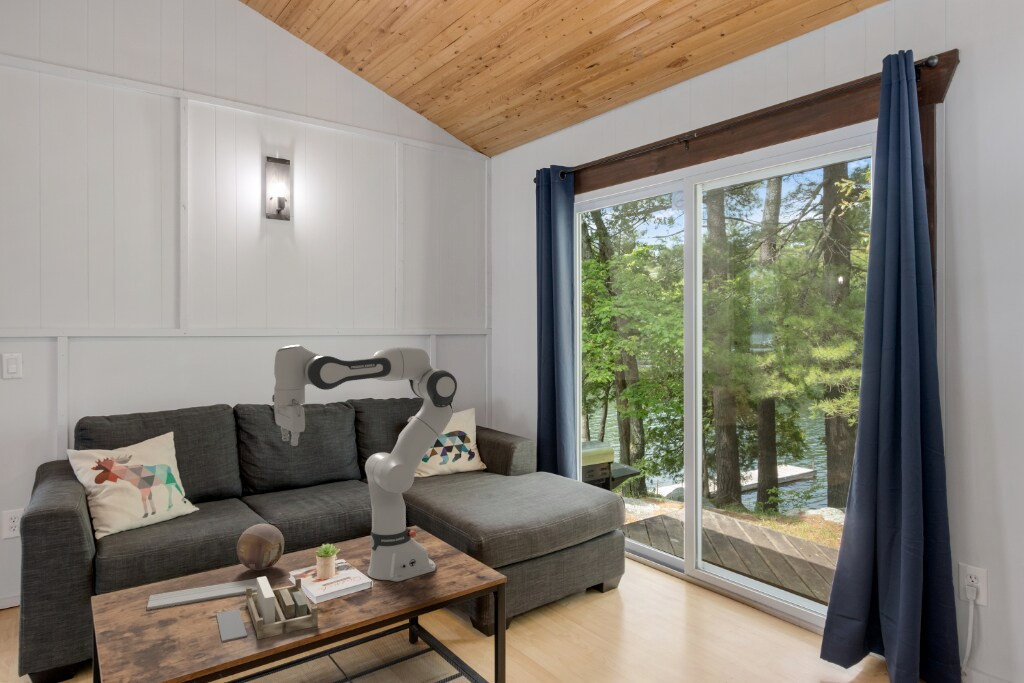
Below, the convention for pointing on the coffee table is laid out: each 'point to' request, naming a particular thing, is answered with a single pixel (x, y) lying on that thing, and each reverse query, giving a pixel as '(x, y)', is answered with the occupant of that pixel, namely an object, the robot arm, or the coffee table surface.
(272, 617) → the cream rectangular board
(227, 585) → the baseboard molding
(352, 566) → the coffee table surface
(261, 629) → the rack
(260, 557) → the ornament
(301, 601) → the offcuts
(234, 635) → the mat
